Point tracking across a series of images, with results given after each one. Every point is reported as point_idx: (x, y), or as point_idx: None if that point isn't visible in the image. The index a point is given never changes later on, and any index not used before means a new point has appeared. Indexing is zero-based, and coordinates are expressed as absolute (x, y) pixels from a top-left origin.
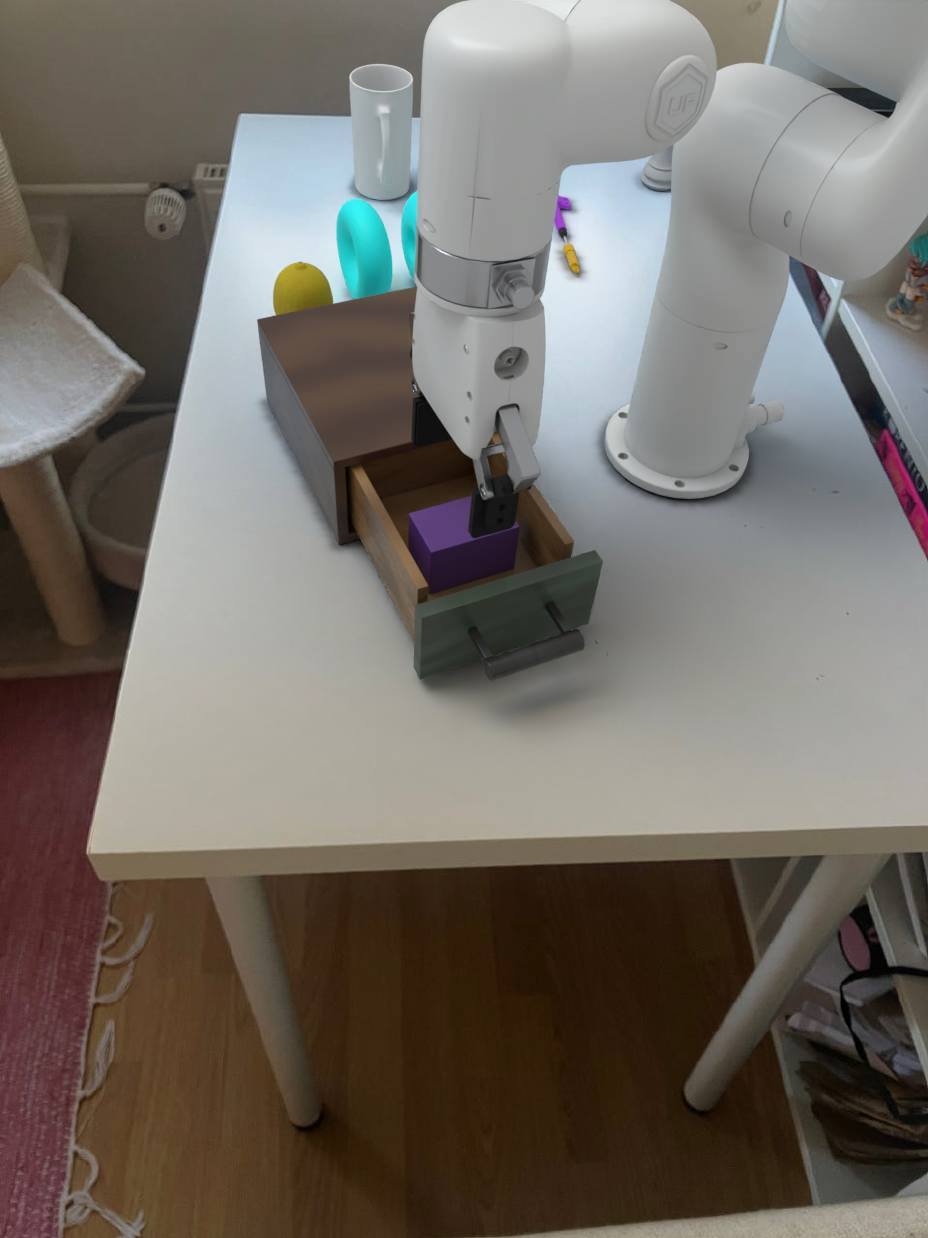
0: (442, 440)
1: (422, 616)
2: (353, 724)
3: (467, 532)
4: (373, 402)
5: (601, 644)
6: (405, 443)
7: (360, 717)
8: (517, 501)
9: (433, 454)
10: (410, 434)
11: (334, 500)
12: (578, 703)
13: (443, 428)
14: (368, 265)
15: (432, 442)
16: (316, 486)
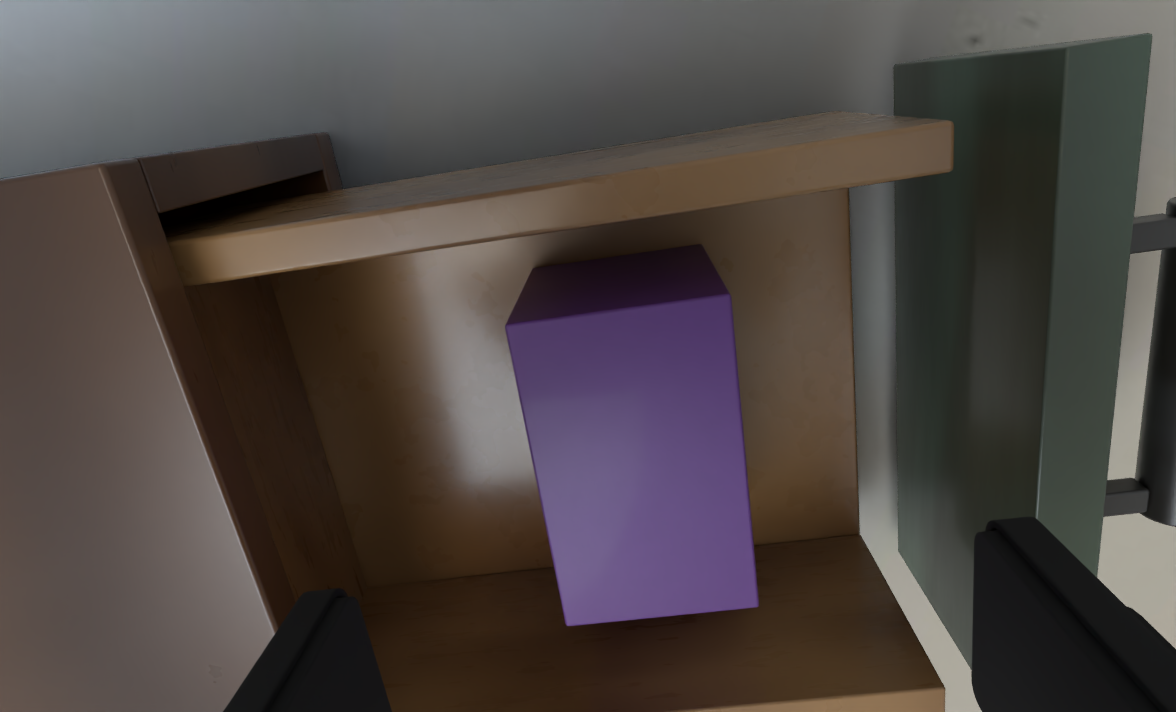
0: (368, 643)
1: None
2: (958, 661)
3: (706, 483)
4: (41, 702)
5: (988, 26)
6: None
7: (947, 647)
8: (1146, 629)
9: (243, 441)
10: (236, 631)
11: None
12: (1146, 174)
13: (340, 696)
14: None
15: (381, 687)
16: None
